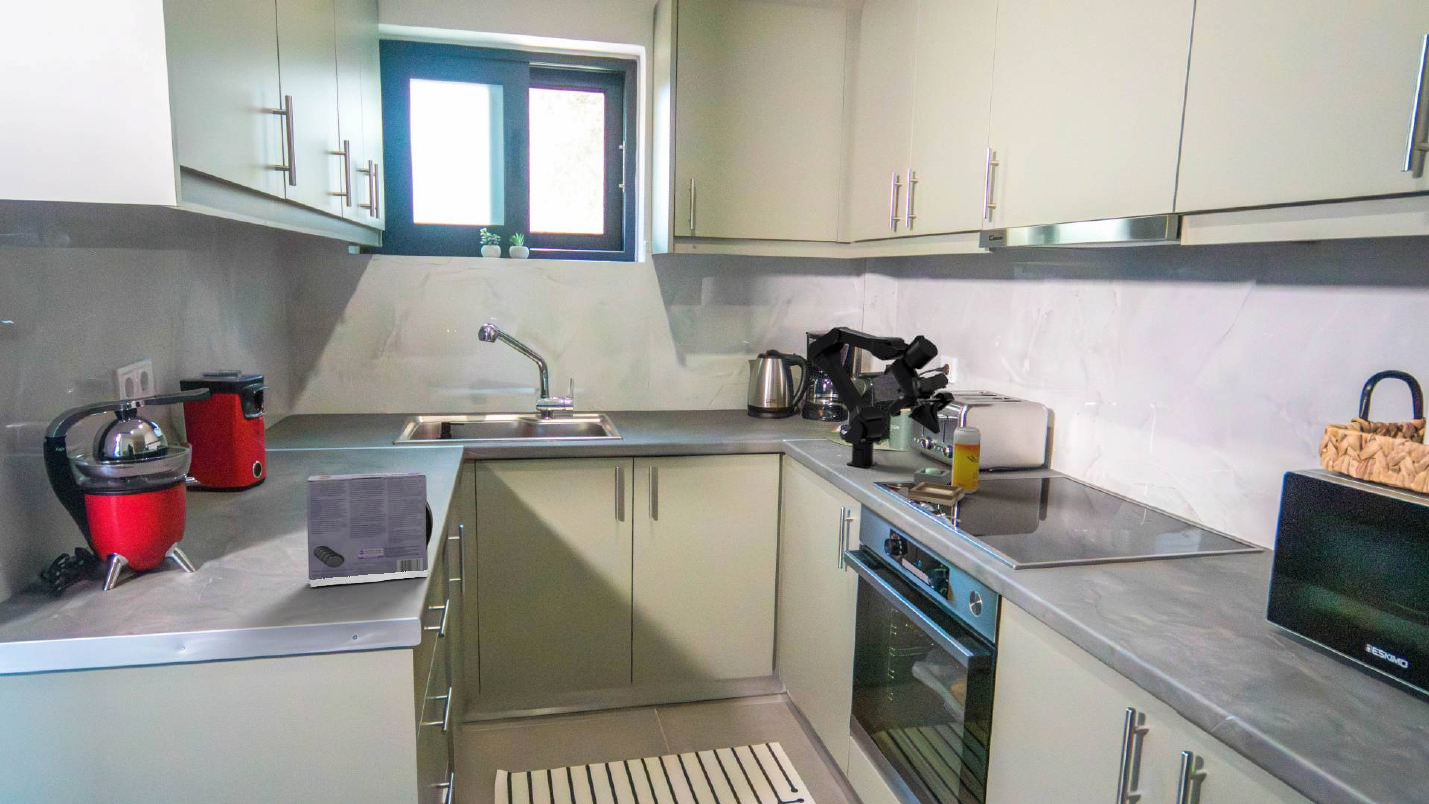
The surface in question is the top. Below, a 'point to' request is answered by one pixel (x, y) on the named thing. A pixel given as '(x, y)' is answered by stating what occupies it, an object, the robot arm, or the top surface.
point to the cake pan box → (367, 524)
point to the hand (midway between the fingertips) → (937, 433)
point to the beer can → (966, 458)
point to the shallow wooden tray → (936, 493)
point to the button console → (932, 477)
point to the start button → (933, 471)
